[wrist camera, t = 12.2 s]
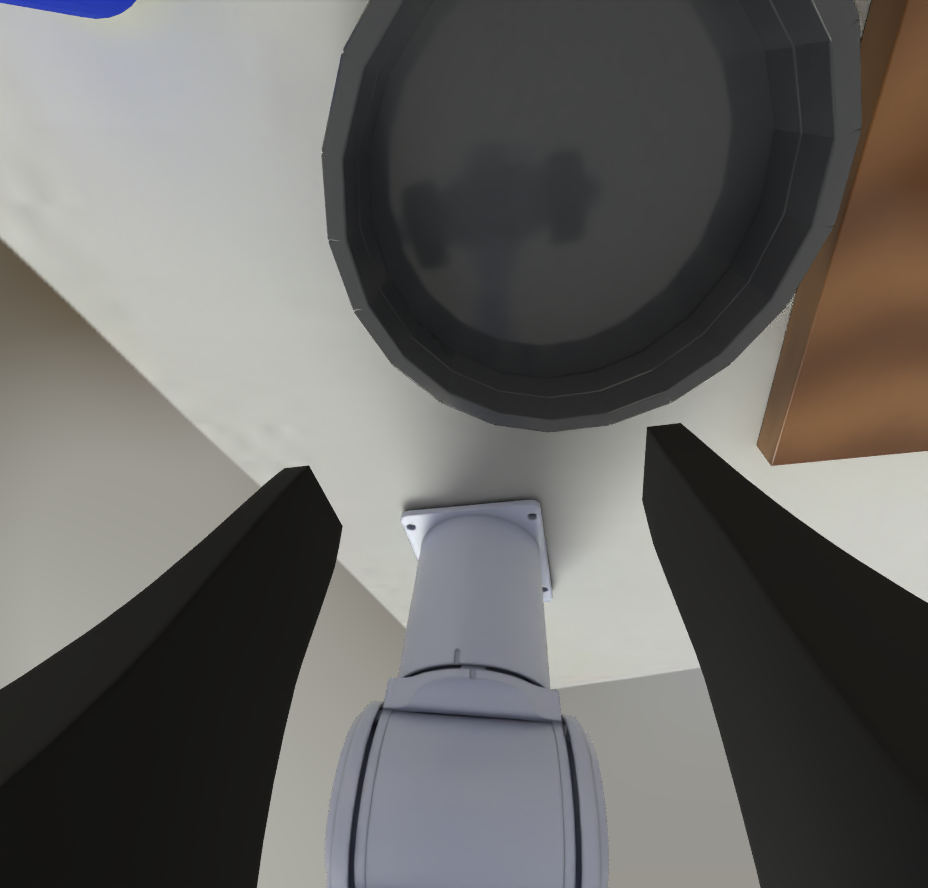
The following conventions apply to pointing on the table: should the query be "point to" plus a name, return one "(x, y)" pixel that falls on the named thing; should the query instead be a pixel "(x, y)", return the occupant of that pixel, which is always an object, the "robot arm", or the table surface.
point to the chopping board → (866, 275)
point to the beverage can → (77, 6)
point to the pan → (584, 190)
